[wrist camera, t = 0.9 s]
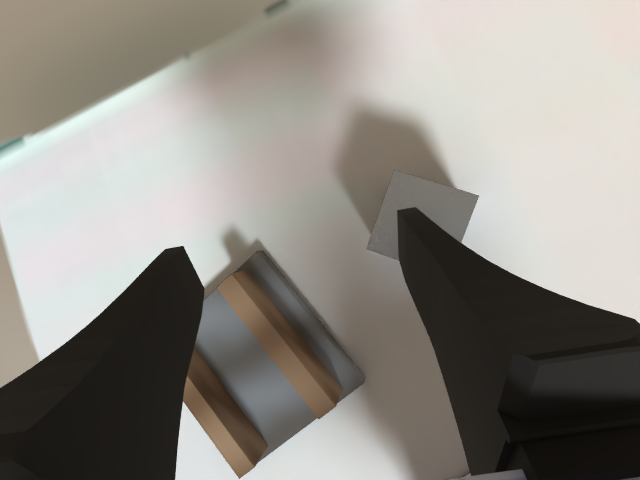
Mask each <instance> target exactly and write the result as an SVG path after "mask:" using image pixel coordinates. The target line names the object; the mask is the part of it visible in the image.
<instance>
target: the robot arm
mask: <svg viewBox="0 0 640 480" xmlns="http://www.w3.org/2000/svg"><path fill="white" fill-rule="evenodd" d="M397 225H398V257H399V261H400V264H401V268H402V272H403V275H404V278H405V282H406V284H407V287H408V289H409V291H410V294H411V296H412V298H413V301H414V303H415V305H416V307H417V310H418V312H419V314H420V317H421V319H422V321H423V323H424V326H425V328H426V330H427V333H428V335H429V337H430V340H431V342H432V345H433V347H434V350H435V353H436V356H437V360H438V363H439V366H440V369H441V372H442V375H443V379H444V382H445V385H446V388H447V392H448V395H449V398H450V402H451V405H452V408H453V412H454V415H455V419H456V422H457V426H458V429H459V433H460V436H461V440H462V444H463V447H464V451H465V455H466V458H467V462H468V466H469V469H470V473H469V474H468V475H466V476H465V477H461V478H454V479H446V480H640V324H639V323H638V322H637V321H636V320H635V319H633V318H629V317H626V316H623V315H619V314H616V313H613V312H610V311H606V310H603V309H600V308H596V307H593V306H590V305H587V304H584V303H581V302H578V301H576V300H573V299H570V298H567V297H565V296H562V295H559V294H557V293H554V292H552V291H549V290H547V289H544V288H542V287H540V286H538V285H535V284H533V283H531V282H529V281H526V280H524V279H522V278H520V277H518V276H516V275H514V274H512V273H510V272H508V271H506V270H504V269H502V268H501V267H499V266H497V265H495V264H493V263H491V262H490V261H488V260H486V259H485V258H483V257H481V256H480V255H478V254H477V253H475V252H474V251H472V250H471V249H469V248H467V247H466V246H465V245H463V244H462V243H460V242H459V241H458V240H456V239H455V238H454V237H452V236H451V235H450V234H448V233H447V232H446V231H444V230H443V229H442V228H441V227H439V226H438V225H437V224H436V223H435V222H433V221H432V220H431V219H430V218H429V217H427V216H426V215H425V214H424V213H423V212H421V211H420V210H419V209H418V208H416V207H413V208H407V209H401V210H397ZM203 300H204V287H203V285H202V283H201V281H200V279H199V277H198V275H197V273H196V271H195V269H194V267H193V265H192V263H191V261H190V259H189V257H188V255H187V253H186V251H185V249H184V247H183V246H180V247H174V248H169V249H165V250H164V251H163V252H162V253H161V254H160V255H159V256H158V257H157V258H156V259H155V260H154V261H153V262H152V263H151V264H150V265H149V266H148V267H147V268H146V269H145V270H144V271H143V272H142V273H141V274H140V275H139V276H138V277H137V278H136V279H135V280H134V281H133V282H132V283H131V284H130V286H129V287H128V288H127V289H126V290H125V291H124V292H123V293H122V294H121V295H120V296H119V297H117V298H116V299H115V300H114V301H113V302H112V303H111V304H110V305H109V306H108V307H107V308H106V309H105V310H104V311H103V312H102V313H101V314H100V315H99V316H98V317H96V318H95V319H94V320H93V321H92V322H91V323H90V324H88V325H87V326H86V327H85V328H84V329H82V330H81V331H80V332H79V333H78V334H76V335H75V336H74V337H73V338H71V339H70V340H69V341H68V342H66V343H65V344H64V345H62V346H61V347H60V348H58V349H57V350H56V351H54V352H53V353H51V354H50V355H49V356H47V357H46V358H45V359H43V360H42V361H40V362H39V363H38V364H36V365H35V366H34V367H32V368H31V369H29V370H28V371H26V372H25V373H23V374H22V375H20V376H18V377H17V378H15V379H14V380H13V381H11V382H9V383H8V384H6V385H4V386H3V387H2V388H0V480H175V472H176V459H177V446H178V437H179V428H180V418H181V411H182V403H183V396H184V389H185V383H186V378H187V374H188V370H189V366H190V362H191V358H192V354H193V350H194V346H195V342H196V338H197V334H198V330H199V326H200V321H201V317H202V310H203Z"/></svg>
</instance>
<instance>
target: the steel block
mask: <svg viewBox="0 0 640 480" xmlns="http://www.w3.org/2000/svg"><path fill="white" fill-rule="evenodd" d="M478 197H479V195H475V194H472V193H469V192H465V191H462V190H459V189H456V188H452V187H449V186H446V185H442V184H439V183H436V182H433V181H429V180H426V179H423V178H419V177H416V176H413V175H410V174H406V173H403V172H400V171H396V170H394V172H393V174H392V177H391V180H390V183H389V186H388V189H387V191H386V194H385V197H384V200H383V203H382V206H381V209H380V211H379V214H378V217H377V220H376V223H375V226H374V229H373V231H372V234H371V237H370V240H369V243H368V246H367V249H369V250H371V251H374V252H377V253H380V254H383V255H385V256H388V257H391V258H394V259H396V260H399V257H398V225H397V210H401V209H407V208H413V207H416V208H418V209H419V210H420V211H421V212H423V213H424V214H425V215H426V216H427V217H429V218H430V219H431V220H432V221H433V222H435V223H436V224H437V225H438V226H439V227H441V228H442V229H443V230H444V231H446V232H447V233H448V234H450V235H451V236H452V237H454V238H455V239H456V240H458V241H459V242H460V243H461V242H462V239H463V236H464V234H465V231H466V229H467V226H468V223H469V221H470V218H471V215H472V213H473V210H474V208H475V205H476V202H477V200H478Z"/></svg>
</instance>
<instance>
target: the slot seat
mask: <svg viewBox="0 0 640 480" xmlns="http://www.w3.org/2000/svg"><path fill="white" fill-rule="evenodd" d="M364 380H365V376H364V375H363V374H362V373H361V371H360V370H359V369H358V368H357V367H356V365H355V364H354V363H353V362H352V360H351V359H350V358H349V357H348V355H347V354H346V353H345V352H344V350H343V349H342V348H341V347H340V346H339V344H338V343H337V342H336V341H335V339H334V338H333V337H332V336H331V334H330V333H329V332H328V331H327V329H326V328H325V327H324V326H323V325H322V323H321V322H320V321H319V320H318V318H317V317H316V316H315V315H314V313H313V312H312V311H311V310H310V308H309V307H308V306H307V305H306V304H305V302H304V301H303V300H302V299H301V297H300V296H299V295H298V294H297V292H296V291H295V290H294V289H293V287H292V286H291V285H290V284H289V283H288V281H287V280H286V279H285V278H284V276H283V275H282V274H281V273H280V271H279V270H278V269H277V268H276V266H275V265H274V264H273V263H272V262H271V260H270V259H269V258H268V257H267V255H266V254H265V253H264V252H263V250H262V251H257V252H256V253H255V254H254V255H253V256H252V257H251V258H250V259H248V260H247V261H246V262H245V263H244V264H243V265H242V266H241V267H240V268H239V269H238V270H237V271H235V272H234V273H233V274H231V275H230V276H229V277H227V278H226V279H225V280H224V281H223V282H222V283H221V284H220V285H219V286H218V287H217V289H216V290H215V291H214V292H213V293H212V294H211V295H210V296H208V297H207V298H206V299H205V300H204V301H203V310H202V317H201V321H200V326H199V330H198V334H197V338H196V342H195V346H194V350H193V354H192V358H191V362H190V366H189V370H188V374H187V378H186V383H185V389H184V396H183V402H184V403H185V404H186V406H187V407H188V409H189V410H190V411H191V413H192V414H193V415H194V417H195V418H196V420H197V421H198V422H199V424H200V425H201V426H202V428H203V429H204V431H205V432H206V433H207V435H208V436H209V438H210V439H211V440H212V442H213V443H214V444H215V446H216V447H217V449H218V450H219V451H220V453H221V454H222V455H223V457H224V458H225V460H226V461H227V462H228V464H229V465H230V467H231V468H232V469H233V471H234V472H235V473H236V475H237V476H238V478H239V479H240V478H241V477H242V476H244V475H245V474H246V473H248V472H249V471H250V470H252V469H253V468H254V467H255V466H256V464H257V463H258V462H259V461H261V460H262V459H263V458H265V457H266V456H267V455H269V454H270V453H271V452H273V451H274V450H275V449H277V448H278V447H279V446H281V445H282V444H283V443H285V442H286V441H287V440H289V439H290V438H291V437H293V436H294V435H295V434H297V433H298V432H299V431H301V430H302V429H303V428H305V427H306V426H307V425H309V424H310V423H311V422H313V421H314V420H315V419H317V418H318V419H320V418H321V417H322V416H324V415H325V414H326V413H328V412H329V411H330V410H332V409H333V408H334V407H336V405H337V403H338V402H339V401H341V400H342V399H343V398H345V397H346V396H347V395H349V394H350V393H351V392H353V391H354V390H355V389H357V388H358V387H359V386H361V385H362V384H363V383H364Z"/></svg>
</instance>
